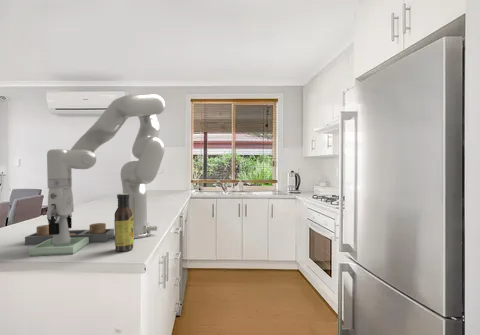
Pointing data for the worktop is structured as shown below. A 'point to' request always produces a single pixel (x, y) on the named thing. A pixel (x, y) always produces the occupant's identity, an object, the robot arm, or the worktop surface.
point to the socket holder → (72, 236)
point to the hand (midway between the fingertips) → (60, 231)
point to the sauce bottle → (123, 224)
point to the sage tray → (49, 248)
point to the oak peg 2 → (98, 228)
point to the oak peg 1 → (43, 230)
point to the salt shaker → (62, 233)
